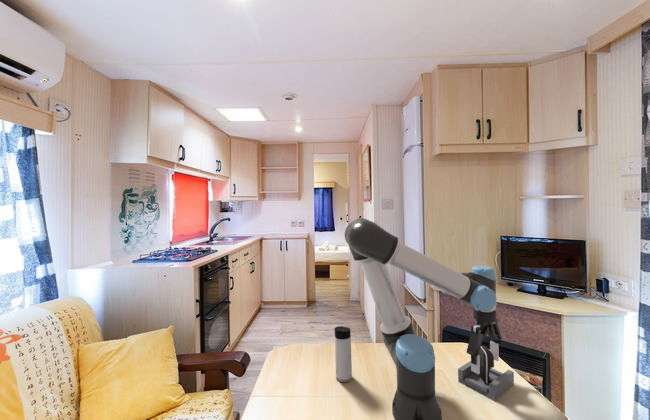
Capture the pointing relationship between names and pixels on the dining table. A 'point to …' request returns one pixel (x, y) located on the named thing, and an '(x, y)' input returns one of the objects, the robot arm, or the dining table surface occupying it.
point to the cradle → (490, 390)
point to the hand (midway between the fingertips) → (485, 365)
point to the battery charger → (485, 363)
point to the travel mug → (343, 354)
